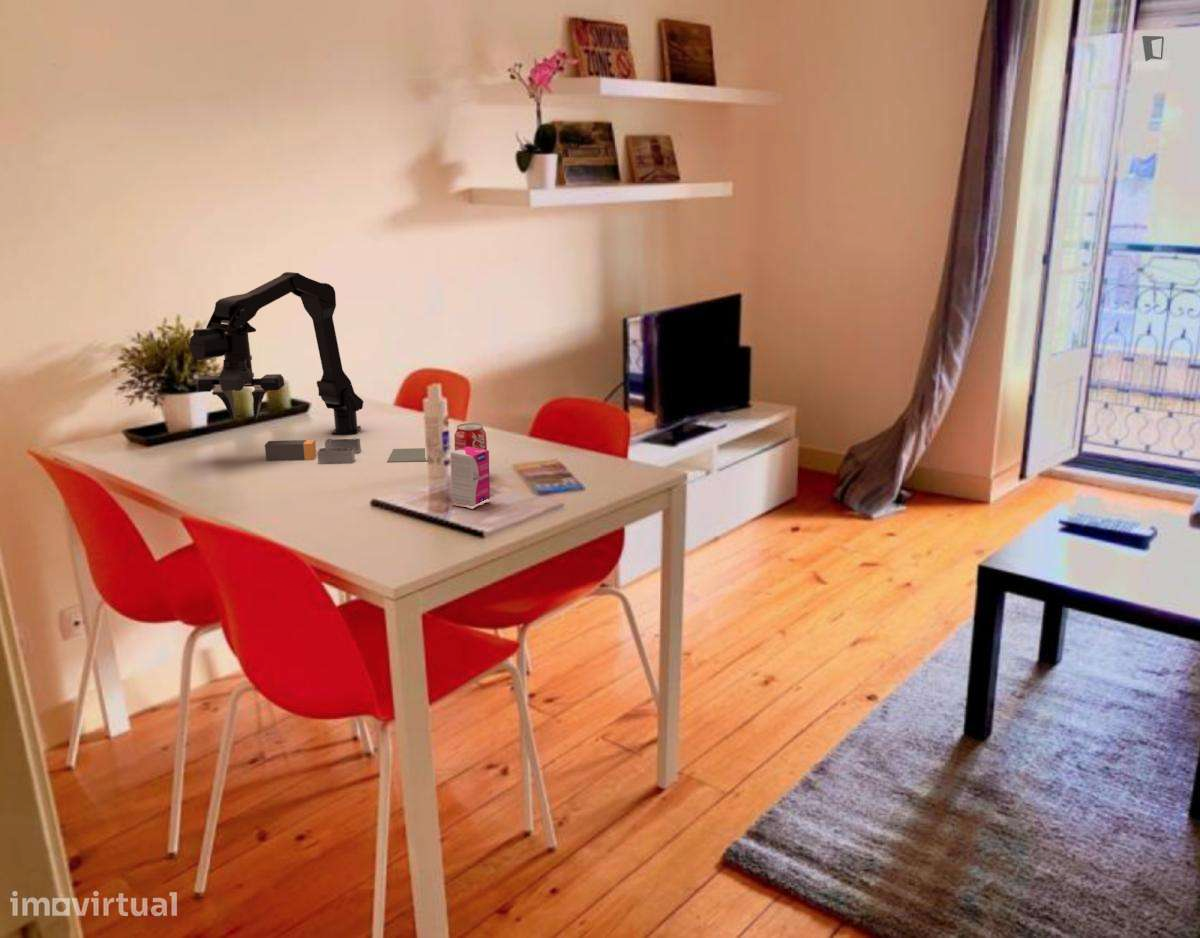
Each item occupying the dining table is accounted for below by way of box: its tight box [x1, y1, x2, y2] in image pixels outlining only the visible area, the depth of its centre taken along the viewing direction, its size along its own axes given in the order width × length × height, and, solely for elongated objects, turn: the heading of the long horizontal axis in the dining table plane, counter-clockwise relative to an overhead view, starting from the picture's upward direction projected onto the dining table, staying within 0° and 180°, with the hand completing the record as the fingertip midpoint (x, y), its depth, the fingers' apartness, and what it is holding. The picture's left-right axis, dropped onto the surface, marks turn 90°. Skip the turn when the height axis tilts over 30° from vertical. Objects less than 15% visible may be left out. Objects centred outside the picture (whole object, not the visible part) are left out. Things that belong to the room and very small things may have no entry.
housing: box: [316, 437, 362, 465], centre depth 232 cm, size 11×8×3 cm
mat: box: [386, 447, 427, 463], centre depth 234 cm, size 11×11×1 cm
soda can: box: [454, 422, 488, 451], centre depth 214 cm, size 7×7×12 cm
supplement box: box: [450, 446, 491, 506], centre depth 197 cm, size 6×6×12 cm
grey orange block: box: [264, 439, 318, 462], centre depth 231 cm, size 4×11×4 cm, turn 93°
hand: (244, 418), depth 228 cm, fingers open, 5 cm apart
